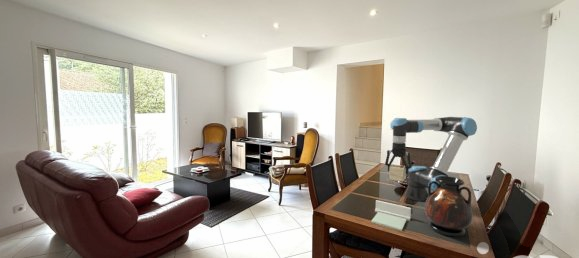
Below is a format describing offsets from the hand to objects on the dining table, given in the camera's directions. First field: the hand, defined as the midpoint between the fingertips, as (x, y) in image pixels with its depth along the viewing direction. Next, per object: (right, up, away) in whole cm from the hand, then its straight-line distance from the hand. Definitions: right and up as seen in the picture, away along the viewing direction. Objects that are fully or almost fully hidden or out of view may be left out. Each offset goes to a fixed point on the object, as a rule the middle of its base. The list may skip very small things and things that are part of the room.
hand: (397, 177), depth 150 cm
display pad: (-12, -22, -15) cm, 29 cm away
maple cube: (0, -1, 0) cm, 1 cm away
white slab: (-6, -22, -6) cm, 23 cm away
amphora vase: (+15, -24, -24) cm, 37 cm away
